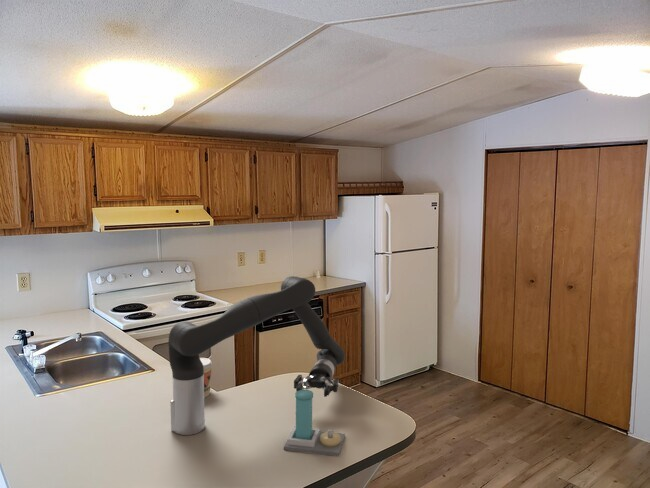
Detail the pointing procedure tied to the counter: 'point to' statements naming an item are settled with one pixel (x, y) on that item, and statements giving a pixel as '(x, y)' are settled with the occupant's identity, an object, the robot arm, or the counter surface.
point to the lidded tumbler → (304, 414)
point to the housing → (316, 442)
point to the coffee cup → (206, 375)
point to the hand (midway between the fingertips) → (311, 392)
